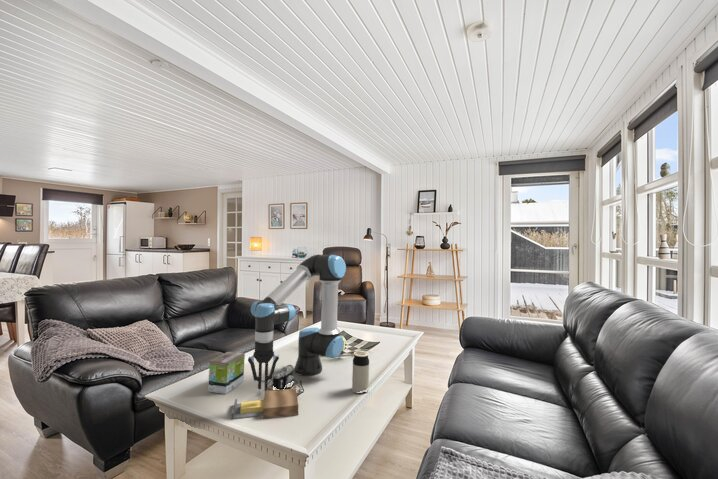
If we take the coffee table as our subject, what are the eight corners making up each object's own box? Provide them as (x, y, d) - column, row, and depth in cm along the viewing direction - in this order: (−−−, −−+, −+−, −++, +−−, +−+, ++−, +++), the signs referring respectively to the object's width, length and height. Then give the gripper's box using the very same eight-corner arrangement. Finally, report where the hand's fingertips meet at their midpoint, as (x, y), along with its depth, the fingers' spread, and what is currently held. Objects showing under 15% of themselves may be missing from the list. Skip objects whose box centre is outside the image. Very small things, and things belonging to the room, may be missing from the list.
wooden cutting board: (295, 397, 152) (295, 388, 152) (298, 414, 136) (298, 405, 136) (263, 400, 148) (264, 391, 148) (262, 418, 133) (263, 408, 133)
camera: (282, 396, 153) (283, 374, 153) (270, 393, 155) (271, 371, 155) (299, 383, 167) (299, 363, 167) (287, 381, 169) (288, 361, 169)
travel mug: (356, 395, 155) (357, 356, 155) (349, 388, 162) (350, 351, 162) (371, 392, 159) (372, 354, 159) (363, 385, 166) (364, 349, 166)
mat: (263, 402, 146) (264, 396, 146) (263, 416, 135) (263, 409, 135) (235, 404, 143) (235, 399, 143) (231, 419, 132) (231, 412, 132)
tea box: (226, 394, 153) (227, 362, 153) (207, 392, 155) (208, 360, 155) (244, 381, 168) (245, 352, 168) (226, 379, 170) (227, 350, 170)
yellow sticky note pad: (263, 404, 143) (263, 399, 143) (263, 411, 138) (263, 406, 138) (241, 406, 141) (241, 402, 141) (240, 413, 135) (240, 408, 135)
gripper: (279, 337, 146) (278, 391, 146) (248, 338, 143) (247, 393, 143) (280, 342, 139) (278, 398, 139) (247, 343, 136) (245, 401, 135)
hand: (262, 396), depth 141 cm, fingers closed
